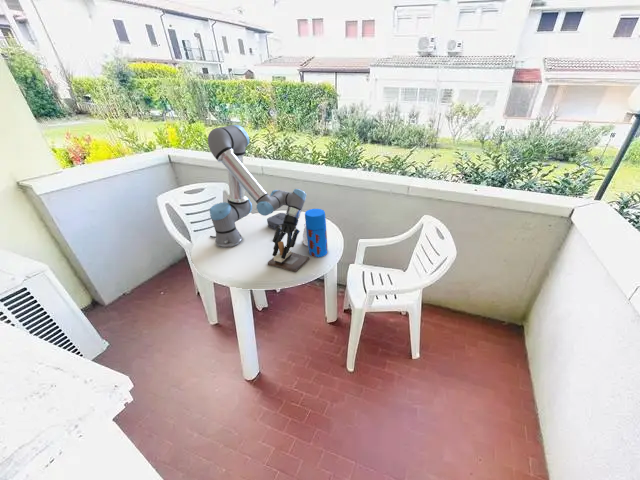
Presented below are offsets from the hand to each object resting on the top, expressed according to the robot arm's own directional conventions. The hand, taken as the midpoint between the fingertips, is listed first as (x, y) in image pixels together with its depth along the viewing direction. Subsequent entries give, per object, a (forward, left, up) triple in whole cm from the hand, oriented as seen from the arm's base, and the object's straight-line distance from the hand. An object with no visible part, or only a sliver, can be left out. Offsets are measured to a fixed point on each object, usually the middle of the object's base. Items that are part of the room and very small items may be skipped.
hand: (278, 257), depth 151 cm
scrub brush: (0, +4, -3) cm, 5 cm away
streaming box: (-28, +40, -5) cm, 49 cm away
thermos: (+13, +19, -5) cm, 24 cm away
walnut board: (+3, +4, -5) cm, 7 cm away
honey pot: (+4, +29, -5) cm, 30 cm away
